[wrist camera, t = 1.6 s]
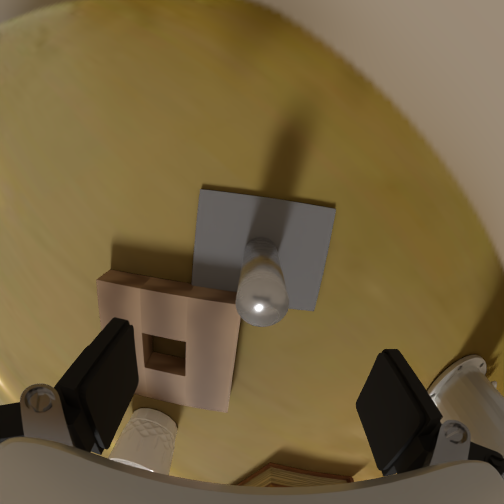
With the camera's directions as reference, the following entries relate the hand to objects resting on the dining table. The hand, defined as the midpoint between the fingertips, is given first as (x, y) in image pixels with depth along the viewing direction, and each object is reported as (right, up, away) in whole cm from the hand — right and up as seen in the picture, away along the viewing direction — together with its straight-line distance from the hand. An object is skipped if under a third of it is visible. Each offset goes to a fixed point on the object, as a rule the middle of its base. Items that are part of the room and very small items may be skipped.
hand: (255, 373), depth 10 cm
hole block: (-9, -5, +19) cm, 21 cm away
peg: (+1, +4, +16) cm, 16 cm away
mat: (+1, +4, +16) cm, 17 cm away
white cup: (-14, -20, +23) cm, 34 cm away
